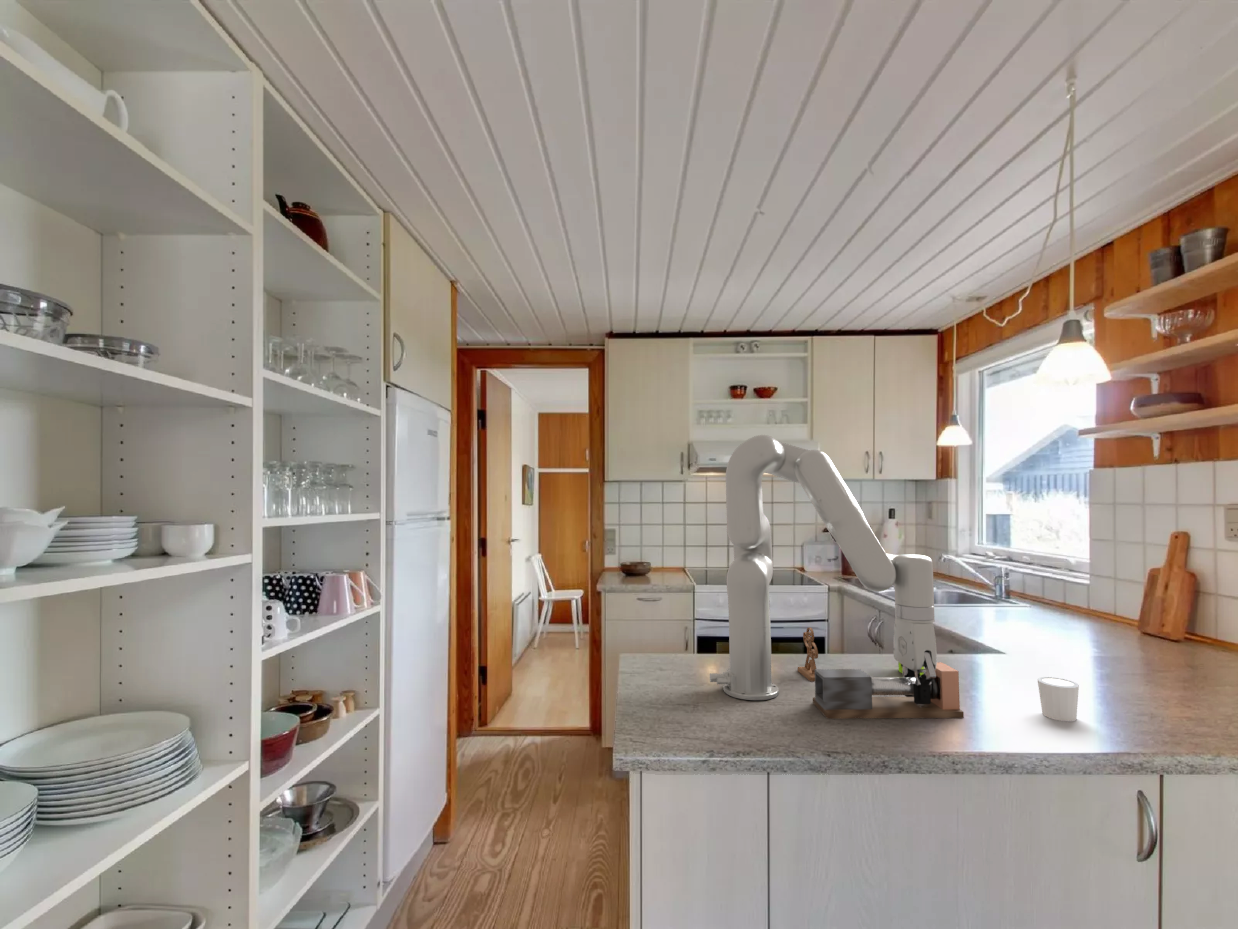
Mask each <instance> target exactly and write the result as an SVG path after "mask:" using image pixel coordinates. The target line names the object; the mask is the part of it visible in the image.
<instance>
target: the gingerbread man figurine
mask: <svg viewBox="0 0 1238 929" xmlns="http://www.w3.org/2000/svg"><path fill="white" fill-rule="evenodd" d="M802 635H803V636H802V637H803V638H802V639H803V643H804V646H805V647H806V659H805V663H804V666H797V672H798V673H800V675H802V676H803V677H804V678H806V679H807V680H808V681H809V682H815V669H817V665H816V661H815V659H819V650H818V647H817V644H816V643H815V642H814V641H815V633H814V629H813V627H807V628H806V631H804V632H803V633H802ZM810 658H811V659H810Z"/></svg>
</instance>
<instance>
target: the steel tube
mask: <svg viewBox="0 0 1238 929" xmlns="http://www.w3.org/2000/svg"><path fill="white" fill-rule="evenodd" d="M924 674H925V673H924ZM871 679H872V696H905V695H914V684H916V682H915V677H903V676H886V677H885V676H883V677H882V676H878V677H877V676H876V677H875V676H874V677H872V676H871ZM938 695H940V678H939V677H935V678H934V679H932V681H931V685H930V697H931V699H936V698H937V697H938Z"/></svg>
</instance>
